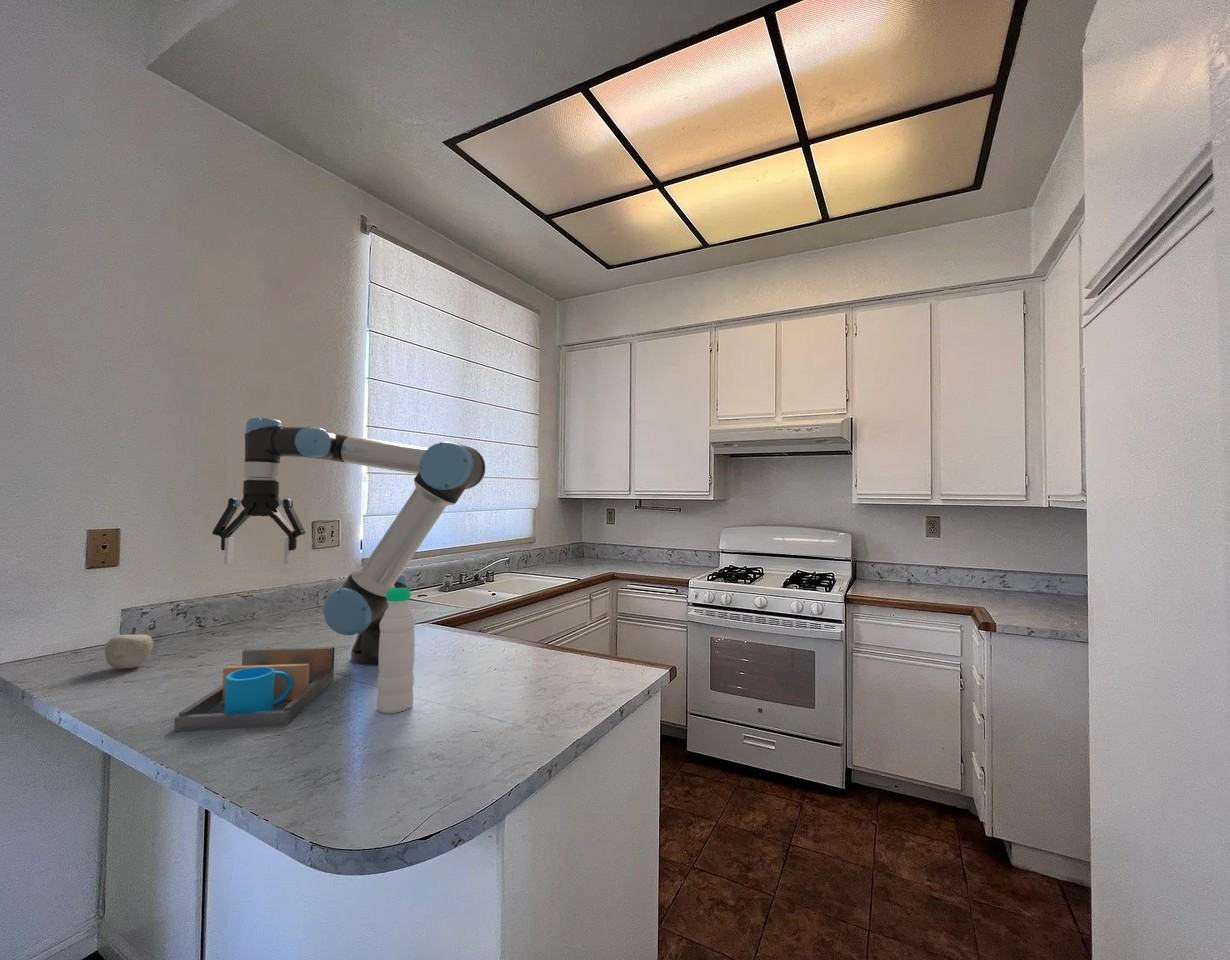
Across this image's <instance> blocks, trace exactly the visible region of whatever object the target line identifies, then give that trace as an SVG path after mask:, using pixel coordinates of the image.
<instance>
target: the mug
mask: <svg viewBox="0 0 1230 960" xmlns="http://www.w3.org/2000/svg"><path fill="white" fill-rule="evenodd" d="M274 675H281V676H283V677H284V678H285V679H286V680H287V687H286V689H285V691H284V693H283V694H282V695H281V696H280V697H278V698H277V699H275V700H273V698H274ZM292 684H293V683H292V678H291V677H290V676H289V675H288V674H287V673H285V672H281V671H274V669H273V668H271V667H252V668H246V669H241V670H238V671H235V672H232V673H230V674H228V675H227V676H226V679H225V702H224V706H223V707H224V709H223V710H224V712H223V713H237V712H258V711H274V705H276V704H278V703H279V702H281V701H284V700H283V699H284V698H285V697H286V696H287V695H288V694H289V692H290V690H291V688H292Z"/></svg>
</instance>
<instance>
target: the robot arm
mask: <svg viewBox="0 0 1230 960" xmlns="http://www.w3.org/2000/svg"><path fill="white" fill-rule="evenodd" d="M281 457H289V458H290V457H294V458H296V457H297V458H307V459H317V460H326V461H332V462H339V463H345V464H352V465H358V466H364V467H371V468H378V469H382V470H390V471H395V472H401V473H407V474H413V475H416V476H415V477H414V479H413V481H414V486H415V489H414V490H413V492H412V493H411V494H410V496H409V497H408V499H407V501H406V502H405V503H404V505H403V507H402V508H401V510H400V511H399V512H398V513H397V516H396V517H395V519H394V520H393V522H391V524H390V526H389V527H388V529H387V530H386V532H385V534H384V535H383V537H382V538H381V539H380V541H379V543H378V544H377V545H376V547H375V549H374V550H373V551H372V553H371V554H370V556H369V557H368V559H367V560H366V561H365V563H364V565H362V567H359V568H355V569H353V570H352V571H351V573H350V574H349V575H348V577H347V578H346V580H345V581H344V583H343V584H342V585H341V587H339V588H336V589H334V591H332V592H330V593H329V594H328V595H327V597H326V598H325V600H324V602H323V607H322V614H323V617H324V621H325V623H326V624H327V626H328V627H329V628H330V629H331V630H332V631H333V632H335V633H337V634H339V635H342V636H354V635H356V634H357V635H356V638H355V640H354V643H353V645H352V648H351V650H350V651H351V652H350V656H351V657H350V661H351V662H352V663H354V664H358V665H365V666H366V665H367V666H369V665H370V666H372V665H373V666H376V665H377V666H379V639H380V628H379V625H380V621H381V619H382V618H383V616H384V613H385V611H386V610H387V608H388V602H387V599H386V593H387V591H388V590H389V589H392V588H407V587H408V584H407V577H406V574H404V573H403V572H404V570H405V569H406V567H407V566H408V565H409V563H410V561H411V560H412V558H413V557H414V555H415V554H416V552H417V551H418V549H419V548H420V546H421V545H422V543H423V542H424V541H425V539H426V537H427V536H428V534H429V532H430V531H431V530H432V528H433V527H434V526H435V524H436V522H437V521H438V519H439V518H440V516H441V515H442V513H443V512H444V511H445V509H446V507H448V506H453V505H455V504H457V502H458V501H459V499H460V498H461V496H462V495H463V493H464V492H465V490H470V489H472V488H474V487H476V486H477V485H479V484H480V483H481V482H482V480H483V479H484V477H485V474H486V462H485V459H484V457H483V455H482V454H481V453H480V452H479V451H478V450H477V449H475V448H474V447H471V446H466V445H463V444H460V443H459V442H456V441H440V442H436V443H434V444H432V445H431V446H429V447H422V446H421V447H420V446H416V445H415V446H414V445H409V444H402V443H397V442H396V443H395V442H391V441H383V440H377V439H371V438H364V437H358V436H352V435H351V436H350V435H346V434H345V435H344V434H339V433H333V432H327V431H326V430H325V429H324V428H322V427H314V426H306V427H303V426H295V427H294V426H292V427H289V426H286V427H285V426H282V422H281V420H279V419H275V418H269V417H267V418H266V417H264V418H263V417H250V418H249V419H247V420H246V423H245V432H244V463H243V465H244V466H243V467H244V468H243V477H244V478H245V480H244V481H243V485H242V486H243V487H242V494H243V497H242V499H241V498H240V499H239V498H238V497H230V498H228V501H227V506H226V508H225V510H224V512H223V513H222V515H221V517H220V518H219V519H218V522H217V523H216V525H215V527H214V528H213V530H212V532H211V533H212V535H214V536H218V537H220V538H221V539H220V541H221V543H220V549H221V551H224V552H223V553H224V558H223V565H230V564H234V561H235V560H234V557H235V536H232V535H233V534H234V533H235V532H236V531H237V530H238V529H239V528H240V527H241V526H242V525H243V524H244V522H246V521H247V520H248V519H249V518H250V517H270V518H271V519H273V521H274V523H276V525H278V527H280V529H281V531H283V532H284V533H285V534H286V535H287V537H285V538H284V550H283V551H284V552H283V553H284V554H283V556H284V557H283V559H284V560H283V564H284V565H289V564H291V563H293V551H295V550H297V544H298V543H297V542H298V541H297V538H298V537H300V536H302V535H305V534H306V531H305V529H304V527H303V524H302V523H301V520H300V519H299V516H298V515H297V513H296V510H295V508H294V503H293V499H291V498H284V499H280V498H279V496H280V482H279V481H278V480H277V479H279V478H280V472H281V471H280V468H281V467H280V466H281V464H280V463H281ZM241 505H242V507H243V510H241V512H240V513H239V514H238V515H237V517H236V518H235V519H234V520H233V519H232V518H233V516H235V513H236V512H237V510H238V508H239V507H241ZM278 507H281V508H282V509H284V513H285V515H286V517H287V518H288V521H289V522H290V524H291V525H290V524H289V523H288V521H287V520H286V519H285V518H284V517H283V516H282V514H281V512H280V511H279V510H278ZM231 520H233V521H231ZM229 523H230V524H229Z"/></svg>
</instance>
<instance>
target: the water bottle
mask: <svg viewBox="0 0 1230 960" xmlns="http://www.w3.org/2000/svg"><path fill="white" fill-rule="evenodd" d="M386 599H387V602H388V608H387V610H386V611H385V613H384V616H383V618H382V619H381V621H380V625H379V628H380V639H379V665H378V678H377V691H378V692H377V699H376V709H377V710H378V711H379V712H380V713H382V714H387V713H389V714H390V713H392V714H398V713H397V712H399V713H402V712H401V711H403V712H405V711H407V710H409V709H411V707H412V706H413V704H414V690H413V689H414V687H413V686H414V681H415V677H414V676H415V675H414V672H413V671H414V664H415V648H416V646H415V645H416V644H415V643H416V642H415V641H416V637H415V627H416V619H415V617H414V615H413V613H412V610H411V608H410V607H409V602H410V601H411V600H410V599H411V590H410V588H392V589H389V590H388V591H387V593H386ZM408 708H409V709H408ZM406 709H407V710H406ZM404 710H405V711H404ZM389 714H388V715H389ZM390 715H391V714H390Z"/></svg>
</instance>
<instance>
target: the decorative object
mask: <svg viewBox="0 0 1230 960" xmlns="http://www.w3.org/2000/svg"><path fill="white" fill-rule="evenodd" d="M136 631H137V626H133V627H132V631H131V634H118V635H115V636H113V637H111V639H109V640H108V642H107V644H106V646H105V650H104V651H105V652H104V655H105V656H104V657H105V660H106V662H107V664H108V665H109V666H110V667H111V668H113V669H115V670H118V669H119V670H121V669H135V668H137V667H138V666H140V665H142V664H143V663H144V662H145V661H146V660H147V659H148V657H149V656H150V654H151V652H152V650H153V647H154V640H153V639H152V637H151V636H150V635H149V634H136Z"/></svg>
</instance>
